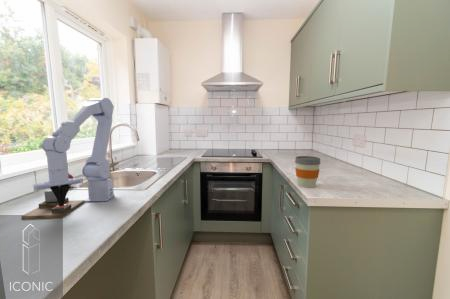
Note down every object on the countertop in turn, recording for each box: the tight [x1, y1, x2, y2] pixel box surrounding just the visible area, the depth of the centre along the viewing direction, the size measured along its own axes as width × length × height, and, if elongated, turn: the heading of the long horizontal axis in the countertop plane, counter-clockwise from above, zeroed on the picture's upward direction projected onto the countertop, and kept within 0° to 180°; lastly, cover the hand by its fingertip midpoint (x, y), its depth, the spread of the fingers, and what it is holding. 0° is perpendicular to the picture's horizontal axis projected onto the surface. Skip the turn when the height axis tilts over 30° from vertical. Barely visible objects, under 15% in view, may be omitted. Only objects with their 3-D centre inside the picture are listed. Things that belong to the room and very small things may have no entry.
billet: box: [44, 188, 58, 203], centre depth 90 cm, size 4×4×6 cm
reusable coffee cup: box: [294, 155, 321, 189], centre depth 120 cm, size 12×13×15 cm
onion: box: [68, 172, 75, 187], centre depth 117 cm, size 6×6×8 cm
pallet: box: [20, 197, 86, 220], centre depth 87 cm, size 14×15×3 cm
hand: (61, 205), depth 84 cm, fingers closed, pressing on start button
